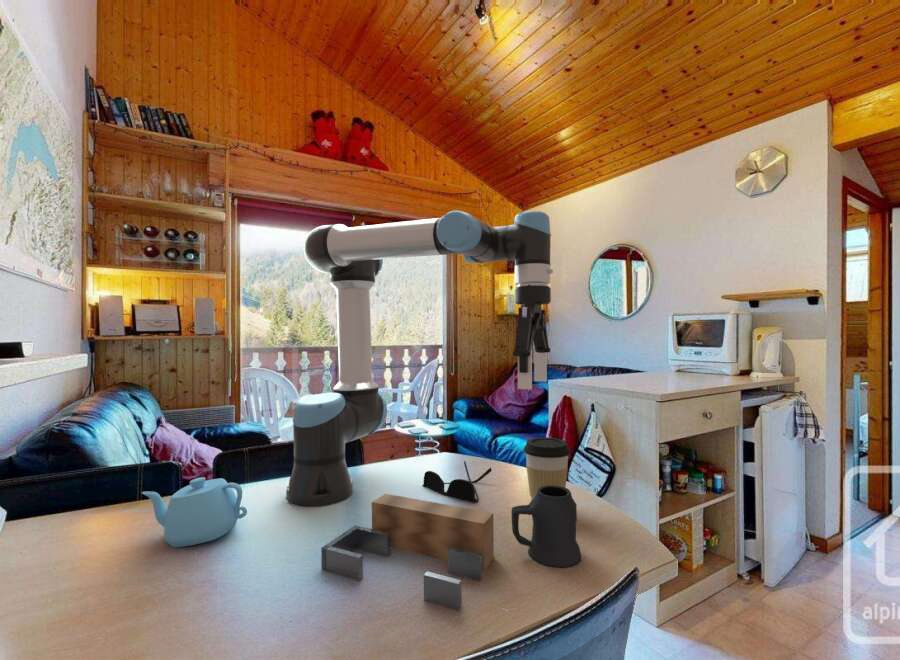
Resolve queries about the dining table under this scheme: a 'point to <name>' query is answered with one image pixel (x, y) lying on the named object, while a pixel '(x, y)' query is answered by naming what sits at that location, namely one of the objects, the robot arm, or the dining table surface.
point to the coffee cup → (546, 463)
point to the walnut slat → (433, 527)
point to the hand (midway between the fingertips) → (533, 385)
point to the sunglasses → (453, 486)
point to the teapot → (199, 511)
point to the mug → (550, 527)
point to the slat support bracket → (341, 551)
